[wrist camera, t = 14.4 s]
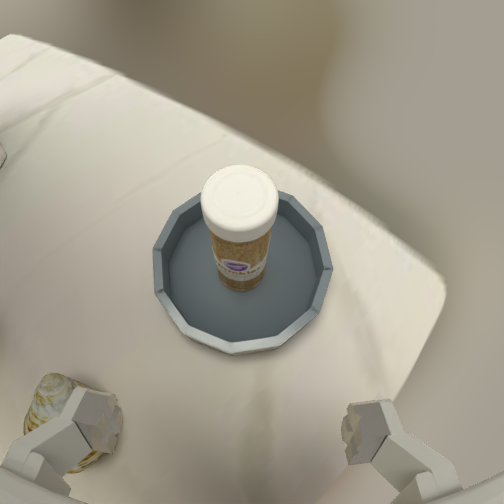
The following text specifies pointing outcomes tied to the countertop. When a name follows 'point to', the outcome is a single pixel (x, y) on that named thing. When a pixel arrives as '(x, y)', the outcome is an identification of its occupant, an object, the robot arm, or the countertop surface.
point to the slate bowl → (247, 302)
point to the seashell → (55, 409)
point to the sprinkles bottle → (240, 223)
